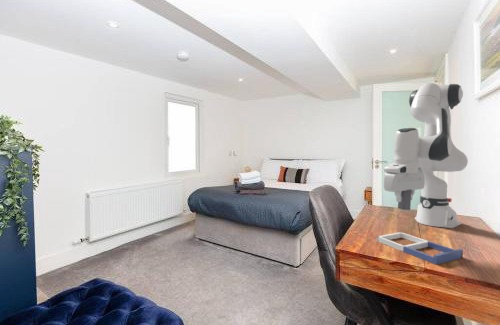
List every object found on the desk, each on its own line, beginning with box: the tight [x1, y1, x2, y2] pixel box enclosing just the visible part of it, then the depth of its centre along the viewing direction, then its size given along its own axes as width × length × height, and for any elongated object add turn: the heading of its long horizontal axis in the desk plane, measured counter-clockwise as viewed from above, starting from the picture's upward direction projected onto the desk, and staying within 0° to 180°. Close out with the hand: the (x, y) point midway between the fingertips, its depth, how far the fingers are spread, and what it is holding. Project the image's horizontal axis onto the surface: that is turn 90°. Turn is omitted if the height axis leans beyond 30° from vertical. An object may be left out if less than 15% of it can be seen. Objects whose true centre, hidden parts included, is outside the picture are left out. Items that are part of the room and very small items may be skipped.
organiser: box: [376, 231, 464, 265], centre depth 101 cm, size 15×24×3 cm, turn 23°
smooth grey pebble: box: [397, 190, 412, 211], centre depth 105 cm, size 4×4×8 cm
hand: (404, 201), depth 105 cm, fingers closed on smooth grey pebble, 4 cm apart
